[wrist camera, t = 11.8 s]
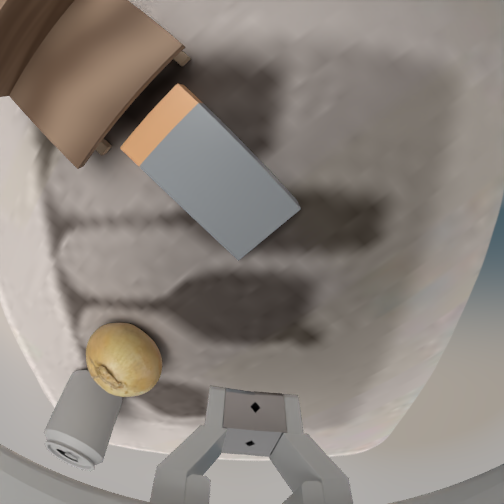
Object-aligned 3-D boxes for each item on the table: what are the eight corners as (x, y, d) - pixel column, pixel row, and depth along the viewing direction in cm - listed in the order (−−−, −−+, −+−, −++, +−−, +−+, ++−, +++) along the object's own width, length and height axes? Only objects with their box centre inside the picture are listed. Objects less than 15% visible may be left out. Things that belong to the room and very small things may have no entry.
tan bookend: (195, 54, 18) (149, 20, 9) (103, 157, 21) (23, 197, 12) (107, -15, 14) (36, -57, 6) (30, 83, 18) (-56, 93, 9)
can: (65, 375, 34) (32, 444, 23) (87, 357, 31) (49, 437, 21) (107, 406, 36) (84, 476, 25) (135, 392, 34) (110, 472, 23)
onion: (182, 344, 30) (168, 399, 23) (144, 376, 32) (129, 424, 26) (117, 297, 27) (88, 348, 21) (87, 337, 30) (62, 383, 24)
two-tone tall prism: (297, 200, 23) (300, 208, 21) (239, 248, 25) (238, 260, 23) (184, 85, 19) (177, 83, 17) (130, 143, 21) (119, 147, 19)
